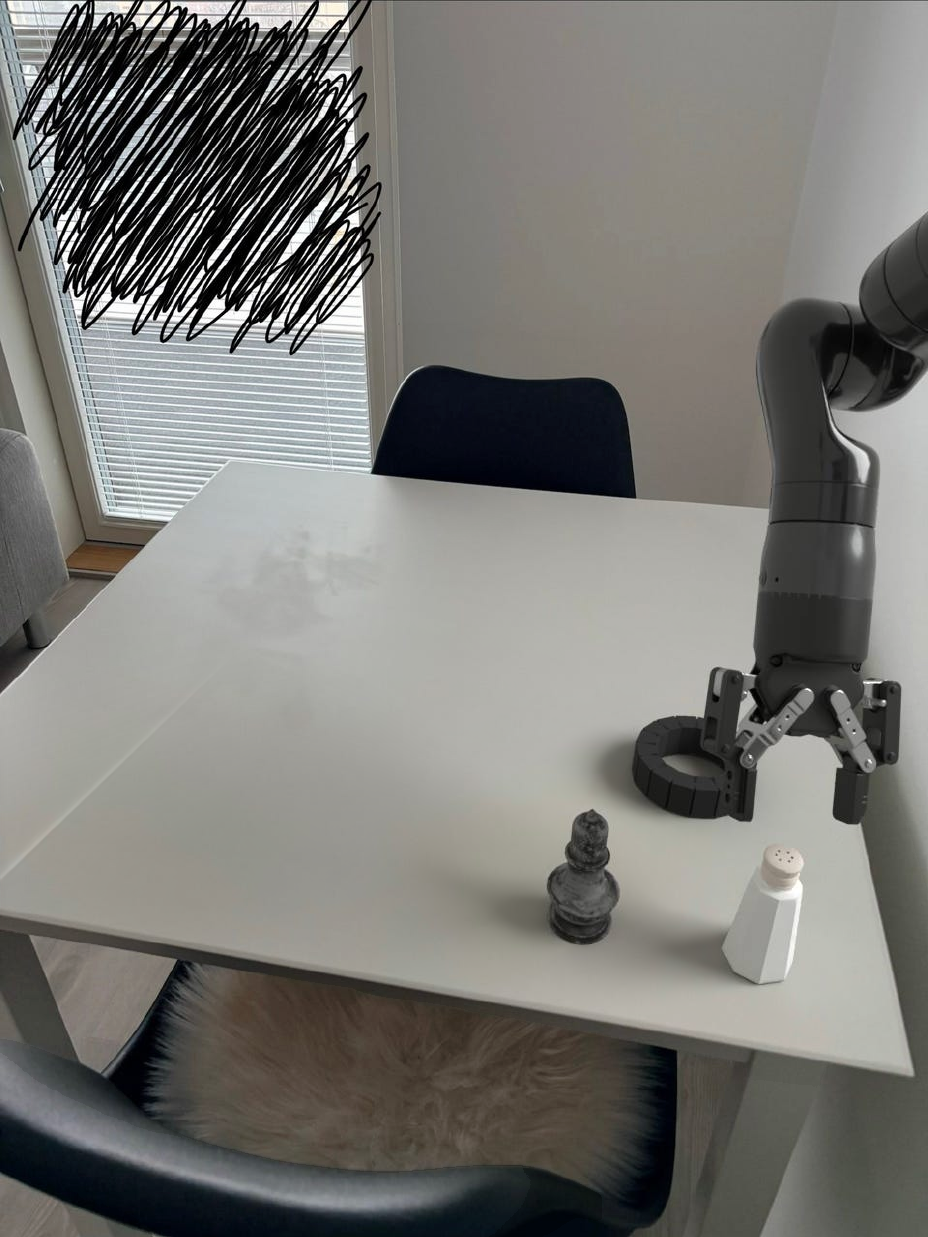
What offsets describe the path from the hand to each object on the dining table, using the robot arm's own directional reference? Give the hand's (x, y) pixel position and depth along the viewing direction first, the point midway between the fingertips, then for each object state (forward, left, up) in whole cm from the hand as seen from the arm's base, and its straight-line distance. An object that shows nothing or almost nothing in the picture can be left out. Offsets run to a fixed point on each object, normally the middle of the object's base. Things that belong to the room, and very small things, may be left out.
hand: (793, 820), depth 62 cm
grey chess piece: (+12, +7, -15) cm, 20 cm away
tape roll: (+16, -14, -15) cm, 26 cm away
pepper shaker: (0, 0, -15) cm, 15 cm away
